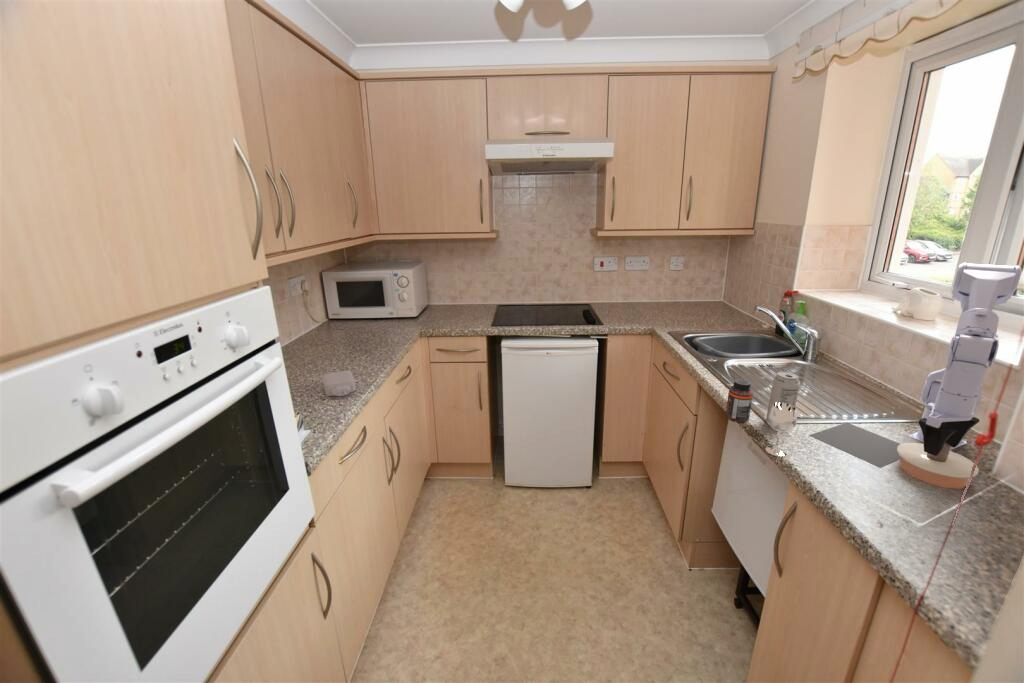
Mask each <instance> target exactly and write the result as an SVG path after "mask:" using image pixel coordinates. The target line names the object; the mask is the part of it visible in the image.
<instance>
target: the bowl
mask: <svg viewBox="0 0 1024 683" xmlns="http://www.w3.org/2000/svg"><path fill="white" fill-rule="evenodd" d="M898 462H899V467H900V469H901V470H902V471H904V472H905V473H907V474H908V475H909V476H910V477H912V478H914V479H917V480H920V481H922V482H924V483H926V484H929V485H933V486H937V487H940V488H945V489H958V490H959V489H964V488H965V486H966V484H967V482H968V479H969V478H954V477H948V476H943V475H939V474H935V473H932V472H929V471H926V470H924V469H921V468H919V467H916V466H914V465H912V464H910V463H909V462H907V461H905V460H904V459H903V458H901V457H900V460H898ZM966 487H967V486H966Z"/></svg>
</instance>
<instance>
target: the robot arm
mask: <svg viewBox="0 0 1024 683" xmlns="http://www.w3.org/2000/svg"><path fill="white" fill-rule="evenodd" d="M1022 270H1023V269H1022V268H1021V267H1020V265H1000V264H999V265H998V264H997V265H996V264H982V263H981V264H980V263H967V262H962V263H960V264H959V265H958V268H957V271H956V274H955V278H954V281H953V285H952V291H951V295H952V297H951V298H952V299H954V300H956V301H958V302H960V307H961V308H960V309H961V313H960V315H959V317H958V322H957V326H956V330H955V334H954V335H953V336H952V337H951V339H950V343H949V346H948V350H947V355H946V364H945V368H941V369H939V370H935V371H932V372H930V373H929V374H927V377H926V380H925V381H924V383H923V384H924V385H923V388H922V390H921V394H920V399H919V401H920V402H921V404H923V405H925V406H924V410H923V412H922V413H923V414H922V416H921V418H920V419H919V421H918V425H919V427H918V429H917V431H916V432H914V433H912V434H909V435H908V437H909V438H911V439H914V440H916V441H919V442H920V443H921V442H922V443H923V444H924V452H927V453H929V454H932V455H934V456H937V455H938V454H939V453H940V451H941V450H942V448H943V446H944V444H945V443H947V444H949V445H950V446H951V448H950V451H953V450H954V449H957V448H959V447H962V446H963V445H964V446H965V445H967V444H968V442H967V441H965V440H963V439H964V437H965V436H966V435H967V433H968V432H969V431H970V430H971V429H972V428H973V427H974V426H976V425H977V424H978V423H979V422H980V418H978V417H976V416H973V415H974V414H976V413H977V411H978V408H979V405H980V402H981V398H982V394H983V393H982V391H983V387H984V386H983V383H984V380H985V377H986V374H987V371H988V367H989V368H990V367H991V366H992V365H993V364H994V362H995V360H996V357H997V355H998V354H997V353H998V350H999V342H1000V341H999V335H997V332H998V325H999V321H1000V320H999V319H1000V317H999V316H998V315H997V313H996V312H995V311H993V310H994V307H995V306H997V305H1003V304H1007V302H1008V300H1010V299H1011V297H1012V296H1013V294H1014V293H1015V291H1016V290H1017V287H1018V285H1019V282H1020V279H1021V275H1022ZM987 363H988V366H987ZM939 380H940V381H939Z"/></svg>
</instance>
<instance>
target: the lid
mask: <svg viewBox="0 0 1024 683" xmlns="http://www.w3.org/2000/svg"><path fill="white" fill-rule="evenodd" d="M950 448H951V446H950V445H949V444H947V443H945V444H944V446H943V448H942V450H941V451H940V453H939V454H938V455H937V456H934V455H932V454H929V453H927V452H924V443H923V442H922V443H921V442H903V443H900V445H899V446H898V447H897V453H898V455H899V456H900V457H901V458H903V459H904V460H905V461H907V462H909V463H910V464H912V465H914V466H916V467H919V468H921V469H924V470H926V471H929V472H932V473H935V474H939V475H943V476H948V477H954V478H969V477H970V474H971V471H972V467H973V465H974V464H975V463H974V462H973V461H972V460H970V459H968V458H967V457H965V456H963V455H961V454H960V453H957V452H954V451H953V450H950ZM979 472H980V471H979V467H978V466H977V465H976V468H975V471H974V475H973V477H972V478H974V477H976V476H977V475H978V474H979Z"/></svg>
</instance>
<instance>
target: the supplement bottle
mask: <svg viewBox="0 0 1024 683" xmlns="http://www.w3.org/2000/svg"><path fill="white" fill-rule="evenodd" d="M751 385H752V384H751V381H749V380H746V379H743V378H737V379H734V381H733V385H732V386H730V387H729V389H728V394H727V402H726V406H725V407H726V408H725V418H726V419H727V420H728V421H731V422H734V423H735V422H738V423H747V422H748V421H749V420H750V414H751V408H752V402H753V397H754V393H753V392H754V391H753V390H752V389H751Z"/></svg>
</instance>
